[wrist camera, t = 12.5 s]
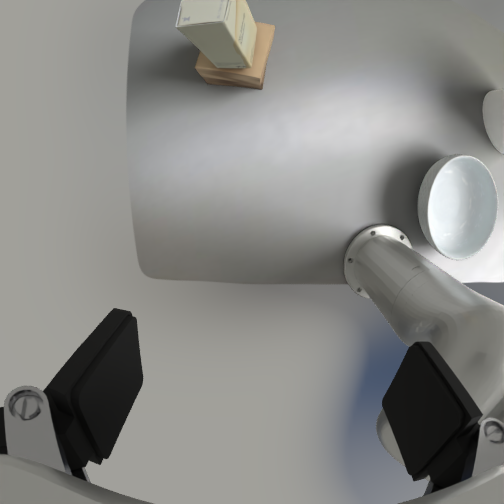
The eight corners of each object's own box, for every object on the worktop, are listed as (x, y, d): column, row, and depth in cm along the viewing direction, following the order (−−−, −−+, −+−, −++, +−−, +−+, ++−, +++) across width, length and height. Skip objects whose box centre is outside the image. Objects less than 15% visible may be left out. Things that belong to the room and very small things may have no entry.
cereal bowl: (392, 234, 42) (413, 247, 35) (417, 138, 37) (442, 136, 30) (459, 257, 43) (481, 270, 36) (482, 174, 38) (507, 179, 31)
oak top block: (273, 37, 30) (274, 25, 26) (260, 86, 32) (260, 78, 28) (216, 28, 29) (212, 16, 26) (201, 76, 32) (194, 67, 28)
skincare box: (252, 69, 28) (225, 24, 16) (215, 68, 28) (173, 29, 17) (257, 26, 26) (236, -28, 14) (222, 26, 26) (186, -23, 15)
